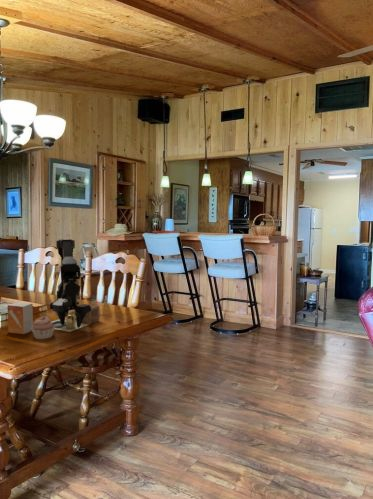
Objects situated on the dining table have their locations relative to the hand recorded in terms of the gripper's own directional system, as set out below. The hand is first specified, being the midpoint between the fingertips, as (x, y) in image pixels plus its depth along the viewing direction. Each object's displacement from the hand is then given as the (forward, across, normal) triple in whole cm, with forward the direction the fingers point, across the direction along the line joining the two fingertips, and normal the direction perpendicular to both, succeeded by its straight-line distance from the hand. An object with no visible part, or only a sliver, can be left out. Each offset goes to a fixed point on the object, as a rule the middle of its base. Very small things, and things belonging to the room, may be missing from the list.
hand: (70, 326), depth 181 cm
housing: (+1, 0, +12) cm, 12 cm away
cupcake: (+2, -2, -14) cm, 14 cm away
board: (+2, -6, +6) cm, 9 cm away
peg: (+1, 0, 0) cm, 1 cm away
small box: (+2, -16, -13) cm, 21 cm away
